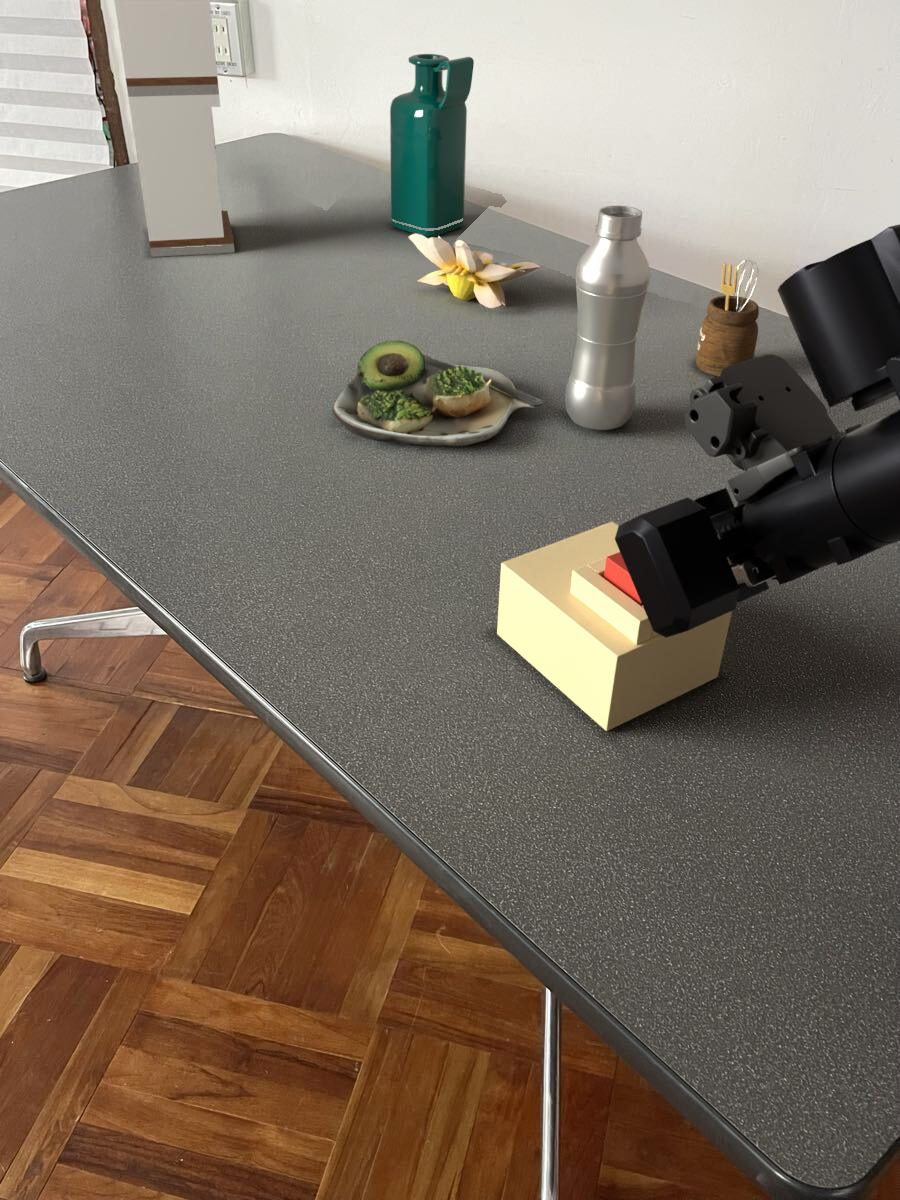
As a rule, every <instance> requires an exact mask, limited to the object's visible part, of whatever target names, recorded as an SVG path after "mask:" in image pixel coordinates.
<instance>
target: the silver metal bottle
mask: <svg viewBox="0 0 900 1200" xmlns="http://www.w3.org/2000/svg"><path fill="white" fill-rule="evenodd" d="M642 220H643V211H642V210H641V209H639V208H637V207H634V206H633V207H632V206H627V205H607V206H603V207H601V208H599V211H598V216H597V223H596V224H595V234H596V235H597V238H596V239H595V240H594V242H592V243H591V245H589V246H588V248H587V249H586V250H585V251H584V253H583V255H581V257H580V259H579V260H578V263H577V266H576V268H575V289H576V303H577V304H576V305H577V321H576V322H577V325H576V327H577V330H576V342H575V348H574V355H573V361H572V366H571V372H570V374H569V377H568V379H567V380H568V381H567V383H566V389H565V393H564V402H565V411H566V413H567V415H568V417H569V418H570V420H571V421H572V422H573V423H574V424H575V425H578V426H579V427H581V428H586V429H591V430H596V431H607V430H614V429H618V428H620V427H622V426H624V425H625V424H626V423H627V422H628V420H629V419H630V418H631V417H632V414H633V412H634V408H635V405H636V402H637V401H636V398H637V396H636V392H637V391H636V382H635V381H636V380H635V364H636V363H635V359H636V358H635V357H636V343H637V337H638V332H639V326H640V320H641V314H642V311H643V307H644V304H645V300H646V296H647V293H648V288H649V286H650V281H651V270H650V264H649V262H648V259H647V257H646V255H645V252H644V251H643V249H642V248H641V245H640V243H639V242H638V238H639V237H641V235H642Z"/></svg>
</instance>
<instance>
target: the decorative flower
mask: <svg viewBox="0 0 900 1200" xmlns="http://www.w3.org/2000/svg"><path fill="white" fill-rule="evenodd" d="M408 239H409V240H410V241H411V242H412V243H413V244H414V246H415V248H417V249H418V251H419V252H421V254H422V255H423V256H424V257H425V258H427V259H428V260H429V261H430V262H431V263H433V264H434V265H435V266H436V267H438V268H440V269H438V270H435V271H432V272H429V273H428V274H426V275H424V276H423V277H421V278H420V279H418V280H417V282H420V283H423V284H424V283H425V284H427V285H431V286H439V285H441V284H444V286H445V285H446V286H448V287H449V290H450V292H451V294H452V295H453V296H454V297H455V298H457V299H459V300H460V301H466V302H468V301H471V300H472V299H474V298H476V299H477V301H478V303H479V304H480V305H482V306H483V307H485V308H487V309H488V308H489V309H494V308H495V309H496V308H497V307H500V306H502V305H503V306H506V300H505V293H504V290H503V286H502V284H501V283H506V282H511V281H514V280H516V279H519V278H521V277H524V276H526V275H528V274H530V273H531V272H534V271H536V270H538V269H540V268H541V266H540V265H538V264H536V263H534V262H533V261H532V262H529V261H528V262H527V261H523V262H516V263H512V264H509V263H506V262H493V259H494V256H493V253H489V252H484V251H481V250H474V251H472V250H471V248H470V246H469V245H468V244H467V243H466V242H465V241H463V240H461V239H458V240H456V241H455V242H454V244H453V247H452V246H451V244H450V243H449V242H448V241H447V240H445V239H444V238H442V237H441V235H438V236H437V237H436V236H433V237H426V236H423V235H420V234H414V233H412V234H411V235H409V236H408ZM506 265H507V266H506Z"/></svg>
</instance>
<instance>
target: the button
mask: <svg viewBox="0 0 900 1200" xmlns="http://www.w3.org/2000/svg"><path fill="white" fill-rule="evenodd" d="M604 579H606V580H607V581H608V582H610V583H611V584H612V585H614V586H615V587H616V588H618V589H619V590H620V591H622V592H623V593H624V594H626V595H627V596H628V597H630V598H631V599H632V600H634V601H635V602H636V603H638V604H639V605H640V606H643V605H642V603H641V600H640V598H639V596H638V593H637V591H636V589H635V586H634V584H633V581H632V579H631V577H630V574H629V572H628V569H627V567H626V565H625V562H624V560H623V558H622V555H621V553H620V552H618V553H616V554H613V555H610V556H608V557H606V564H605V572H604Z"/></svg>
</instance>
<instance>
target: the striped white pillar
mask: <svg viewBox="0 0 900 1200" xmlns="http://www.w3.org/2000/svg"><path fill="white" fill-rule="evenodd" d="M113 1H114V7H115V8H114V9H115V13H116V15H115V16H116V21H117V29H118V35H119V42H120V49H121V55H122V63H123V70H124V76H125V84H126V90H127V96H128V104H129V111H130V118H131V124H132V131H133V138H134V139H133V140H134V145H135V152H136V159H137V167H138V174H139V180H140V181H139V182H140V186H141V187H140V188H141V193H142V194H141V195H142V199H143V200H142V201H143V207H144V214H145V221H146V229H147V235H148V242H149V249H150V257H151V258H159V257H177V256H193V255H197V256H198V255H213V254H232V253H235V252H236V251H235V242H234V234H233V230H232V225H231V222H230V221H231V220H230V217H229V213H228V210H222V206H221V205H222V204H221V193H220V184H219V175H218V164H217V155H216V150H217V146H216V138H215V137H216V136H215V128H214V126H215V125H214V119H213V118H214V117H213V108H220V107H221V102H220V101H221V100H220V92H219V91H220V90H219V89H220V88H219V80H218V69H217V59H216V49H215V39H214V30H213V29H214V28H213V19H212V7H211V0H113ZM203 245H204V246H203ZM206 245H222V246H206ZM186 246H203V247H186ZM171 247H185V248H171Z"/></svg>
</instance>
